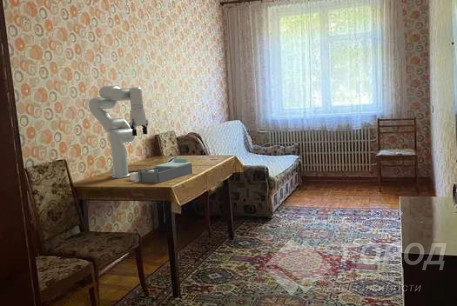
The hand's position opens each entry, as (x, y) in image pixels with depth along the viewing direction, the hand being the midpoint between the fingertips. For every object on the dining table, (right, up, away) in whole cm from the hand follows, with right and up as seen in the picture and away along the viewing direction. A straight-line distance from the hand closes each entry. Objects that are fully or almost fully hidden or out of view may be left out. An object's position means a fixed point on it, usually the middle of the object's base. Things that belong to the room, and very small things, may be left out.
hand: (140, 135), depth 272 cm
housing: (+16, -27, +2) cm, 32 cm away
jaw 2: (+9, -27, -3) cm, 29 cm away
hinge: (+16, -23, +36) cm, 46 cm away
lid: (+20, -19, +8) cm, 29 cm away
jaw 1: (-2, -29, -2) cm, 29 cm away
